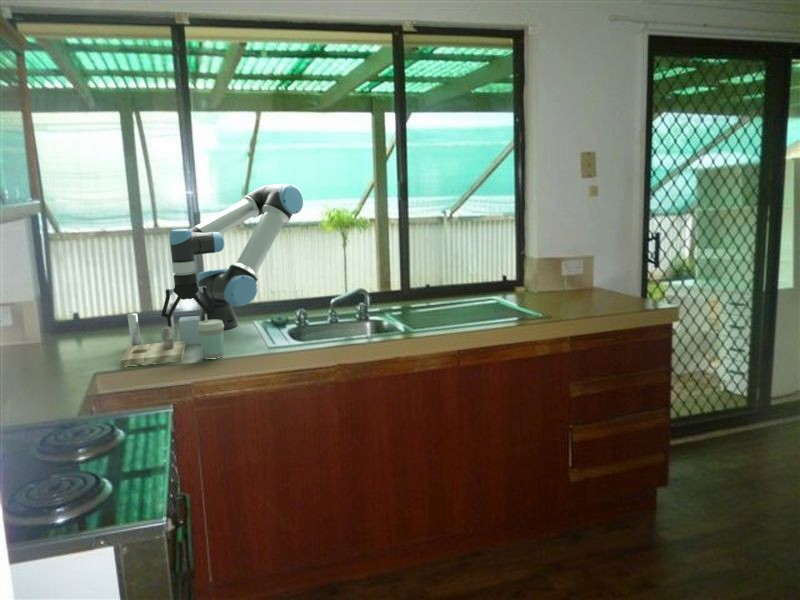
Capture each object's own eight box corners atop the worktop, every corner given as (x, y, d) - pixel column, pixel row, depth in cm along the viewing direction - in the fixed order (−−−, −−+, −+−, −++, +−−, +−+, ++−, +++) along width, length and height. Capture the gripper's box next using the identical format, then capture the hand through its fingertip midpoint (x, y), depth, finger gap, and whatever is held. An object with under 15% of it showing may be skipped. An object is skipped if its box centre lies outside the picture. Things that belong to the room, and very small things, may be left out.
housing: (202, 339, 223) (200, 315, 221) (201, 343, 216) (199, 319, 215) (182, 341, 221) (179, 317, 219) (181, 346, 214) (178, 321, 213)
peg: (141, 345, 217) (137, 312, 215) (140, 347, 214) (136, 314, 212) (132, 346, 217) (128, 313, 214) (130, 348, 214) (126, 315, 211)
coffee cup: (217, 352, 205) (214, 317, 203) (232, 356, 200) (229, 320, 197) (195, 358, 198) (191, 323, 196) (209, 362, 193) (206, 326, 191)
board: (185, 347, 212) (182, 321, 211) (181, 361, 195) (178, 333, 194) (130, 352, 208) (126, 326, 206) (121, 367, 191) (117, 338, 189)
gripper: (218, 269, 220) (224, 327, 225) (150, 274, 214) (157, 334, 218) (218, 272, 213) (224, 332, 217) (148, 277, 207) (155, 339, 211)
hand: (190, 333), depth 218 cm, fingers open, 11 cm apart
